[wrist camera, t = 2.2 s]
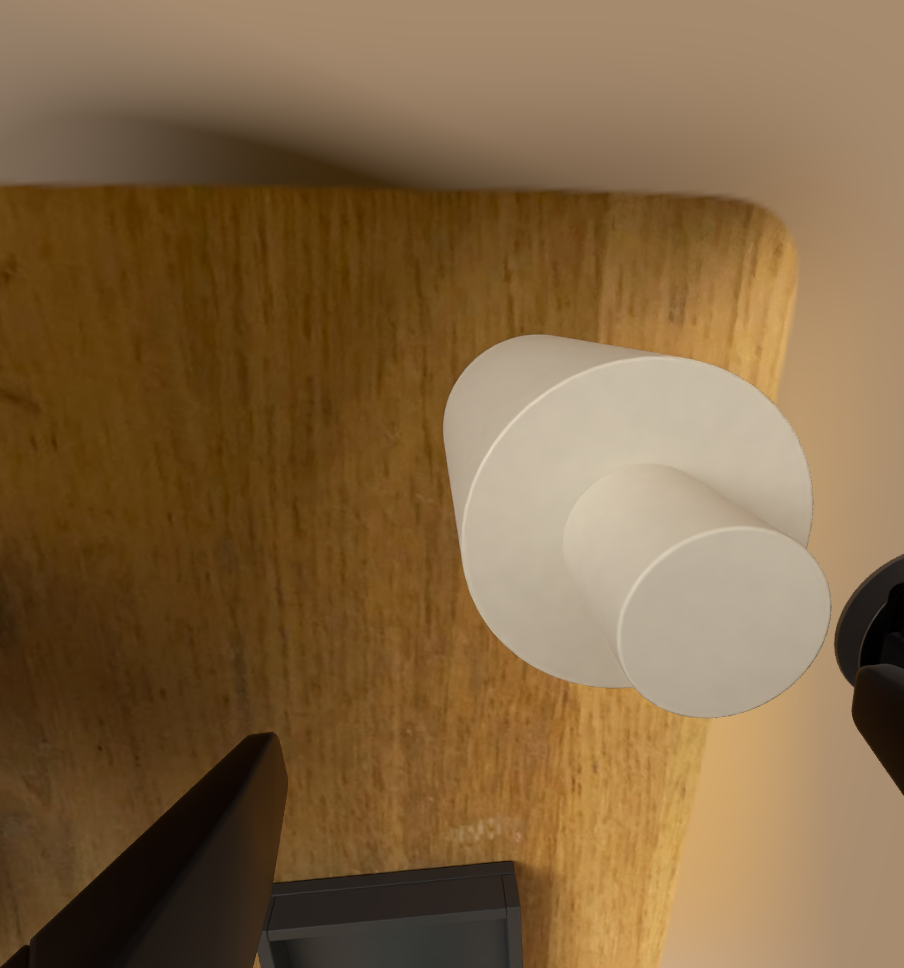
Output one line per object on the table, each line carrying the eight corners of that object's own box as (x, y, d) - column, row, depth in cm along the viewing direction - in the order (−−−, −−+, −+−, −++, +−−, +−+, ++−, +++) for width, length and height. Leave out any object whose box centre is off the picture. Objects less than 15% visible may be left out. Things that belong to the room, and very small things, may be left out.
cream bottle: (626, 327, 19) (1027, 356, 6) (622, 507, 21) (923, 802, 8) (436, 341, 19) (461, 397, 6) (448, 521, 20) (487, 843, 8)
